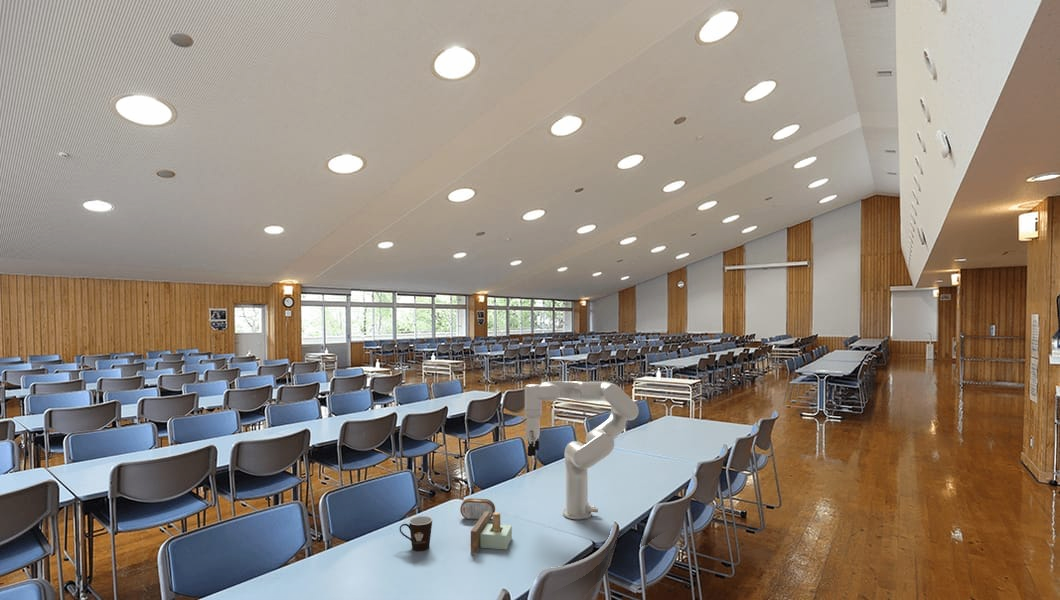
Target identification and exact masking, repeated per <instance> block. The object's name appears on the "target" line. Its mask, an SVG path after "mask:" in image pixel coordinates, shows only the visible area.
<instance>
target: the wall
mask: <svg viewBox="0 0 1060 600" xmlns="http://www.w3.org/2000/svg"><path fill="white" fill-rule="evenodd" d="M490 519H491V518H490V512H489V511H485V512H484V513H483V515H482V516H481V517H480V519H479V520H477V522H476V523H475V525H474V526H472V528H471V530H470V554H472V555H475V554H477V553H478V551H479V550H480V534H481V532H482V531H483V529H484V528H485V526H486V525H487V524H491V523H490V521H491V520H490Z"/></svg>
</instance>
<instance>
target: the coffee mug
mask: <svg viewBox="0 0 1060 600" xmlns="http://www.w3.org/2000/svg"><path fill="white" fill-rule="evenodd" d="M408 522H409V524H407V523H402V524H401V525H400V526H399V532H400V534H401V535H402V536H403V537H405V538H406V539H408V540H409V541H410V542H411V549H412V550H413V551H414V552H415V551H416V552H423V551H427V550H428V549H430V546H431V545H430V543H431V537H432V527H433V518H432V517H431V516H427V515H426V516H425V515H420V516H415V517H412V518H411V519H409V521H408ZM404 526H407V527H408V529H409V533H410V537H409V535H408V536H407V534H405V533H404V532H403V531H402V527H404Z"/></svg>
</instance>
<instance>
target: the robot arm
mask: <svg viewBox="0 0 1060 600" xmlns="http://www.w3.org/2000/svg"><path fill="white" fill-rule="evenodd" d="M558 399H568V400H573V401H578V402H591V401H592V402H594V401H595V402H599V401H600V402H601V401H603V402H606V403H608V404H609V405H610V406H611V409H610V414H609V417H608V418H607V419H606V420H605V421H603V422H602V423H601V424H599V425H598V426H596V427H594V428H593V429H592V430H589V432H587V434H586V435H585V436H586V437H585V444H584V443H583V442H580V441H577V440H574V441H573V440H572V441H570V442H569V443H567V445H566V446H565V448H564V454H563V455H564V464H565V495H566V496H565V497H566V498H565V499H566V500H565V501H566V502H565V504H566V505H565V509H563V510H562V516H564V518H567V519H571V520H577V521H578V520H586V519H588V518H590V517H592V513H599V507H596V506H595V505H592V506H591V505H590V503H589V501H588V498H589V495H588V493H589V492H588V491H589V488H588V487H589V486H588V484H589V483H588V482H589V481H588V480H589V479H588V478H589V476H588V475H589V474H588V469H590V468H593V466H595V465H596V464H597V463H599V462H600V461H602V460H604V459H605V458H606V457H607V456H609V455H610V454H611V453H612V452H613V450H614V447H615V439H616V438H617V437H619V436H620V435H621V434H622V433H623V432H624V430H625V427H626V424H627V421H634V420H636V418H638V416H639V414H640V413H639V412H640V411H639V406H638V405H637V403H636V402H635V401H634V400H633V399H632V398H631V397H630V396H629V395H628V394H627V393H626V392H625V391H624V390H623V389H622V388H621V387H619V385H618V384H616V383H613V382H610V381H544V382H542V383H541V384H538V383H528V384H526V385H525V386H524V417H525V418H526V421H525V440H526V441H528V442H527V456H530V457H531V456H532V457H535V456H536V451H539V450H540V435H541V434H540V433H541V432H540V431H541V429H540V428H541V427H540V426H541V424H540V423H541V420H540V418H542V417H543V401H544V402H556V401H558Z"/></svg>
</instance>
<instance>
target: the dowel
mask: <svg viewBox="0 0 1060 600" xmlns="http://www.w3.org/2000/svg"><path fill="white" fill-rule="evenodd" d="M492 524H493V532H500V525H501V513H500V512H496V511H495V513H493V516H492Z"/></svg>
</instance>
